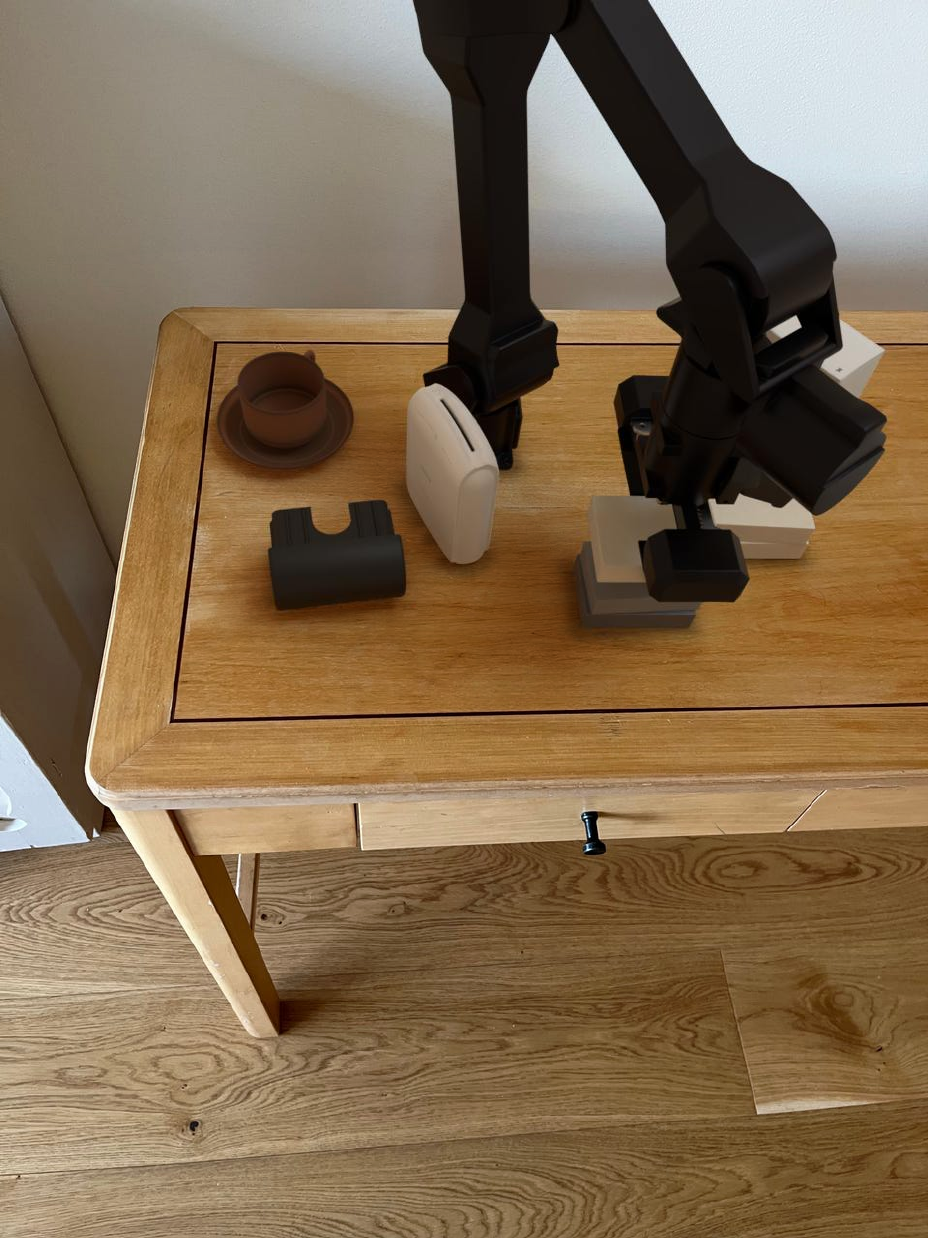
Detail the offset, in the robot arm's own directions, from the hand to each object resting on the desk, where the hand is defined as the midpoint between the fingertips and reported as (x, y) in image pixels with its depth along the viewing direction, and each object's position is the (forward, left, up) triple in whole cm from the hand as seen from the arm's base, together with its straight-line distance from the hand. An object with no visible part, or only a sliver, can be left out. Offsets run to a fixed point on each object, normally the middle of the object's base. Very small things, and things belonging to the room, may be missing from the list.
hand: (648, 554), depth 72 cm
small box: (+16, +17, -6) cm, 24 cm away
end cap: (-24, +1, -6) cm, 25 cm away
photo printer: (-15, +8, -6) cm, 18 cm away
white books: (+11, +7, -6) cm, 14 cm away
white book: (0, 0, +1) cm, 1 cm away
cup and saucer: (-29, +18, -6) cm, 35 cm away
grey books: (0, 0, -6) cm, 6 cm away
